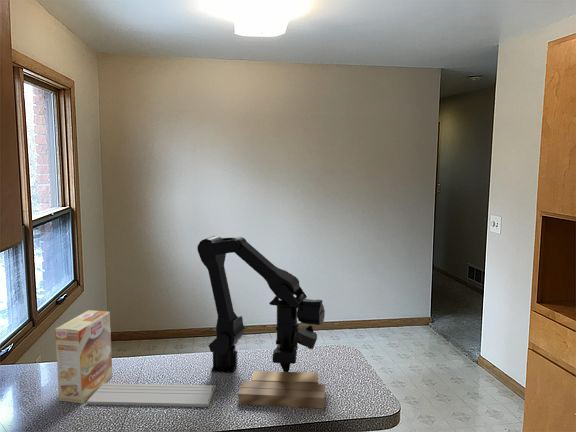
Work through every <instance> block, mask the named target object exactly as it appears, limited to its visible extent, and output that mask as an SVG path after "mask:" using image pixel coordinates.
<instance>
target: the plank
mask: <svg viewBox="0 0 576 432" xmlns="http://www.w3.org/2000/svg"><path fill="white" fill-rule="evenodd" d="M251 381H264V382H286V383H307V384H319V373H318V372H313V371H312V372H311V371H310V372H306V371H289V372H284V371H270V370H267V371H266V370H254V371H253V374H252V378H251Z"/></svg>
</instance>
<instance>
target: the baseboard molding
mask: <svg viewBox="0 0 576 432" xmlns="http://www.w3.org/2000/svg"><path fill="white" fill-rule="evenodd" d="M217 385H218V382H217V381H215V383H214V384H213V385H211V384H210V385H209V384H205V385H204V384H165V383H163V384H162V383H161V384H159V383H156V384H155V383H154V384H153V383H108V382H106V383H104V384H101V386H100V387H99V388H98V389H97V391H95V393H94V394H93V395H92V396H91V397H89V398H88V399H87V400H86V404H87V405H91V406H92V405H95V406H96V405H97V406H98V405H99V406H100V405H102V406H104V405H105V406H141V407H142V406H143V407H144V406H146V407H147V406H148V407H149V406H150V407H152V406H153V407H188V408H189V407H190V408H191V407H193V408H195V407H197V408H206V407H207V408H209V406H210V404H211V401H212V398H213V396H214V393H215V391H216V388H217Z"/></svg>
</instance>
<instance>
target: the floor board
mask: <svg viewBox="0 0 576 432" xmlns="http://www.w3.org/2000/svg"><path fill="white" fill-rule="evenodd" d="M237 394H238V395H237V397H238V398H237V402H238V403H237V404H238V405H247V404H249V406H250V405H252V404H253V406H269V407H270V406H271V407H287V406H288V407H289V408H292V407H293V408H308V409H309V408H310V409H325V407H326V384H324V383H323V384H322V383H318V384H307V383H286V382H264V381H252V380H242V382H241V385H240V388H239V390H238V393H237Z"/></svg>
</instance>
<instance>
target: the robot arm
mask: <svg viewBox="0 0 576 432" xmlns="http://www.w3.org/2000/svg"><path fill="white" fill-rule="evenodd" d="M196 248H197V250H196V251H197V253H198V255H199V259H200V260H201V261H200V262H202V264H203V265H204V266H205V267H206V269H207V271H208V276H209V281H210V285H211V286H210V287H211V290H212V295H213V299H214V305H215V309H216V314H217V320H216V324H215V336H216V337H215V339H214V340H212V341H211V342H210V343H209V344H208V348H209V350H210V352H211V353H212V367H211V369H210V370H211V372H219V373H221V372H222V373H223V372H224V373H233V372H234V370H235V369H236V368H237V366H238V363H239V362H238V351H237V350H236V344H238V342H239V340H240V339H241V338H242V337H243V336H244V330H245V329H246V327H245V325H244V322H243V320H244V319H243V315H240V316H238V315H237V314H236V313H235V311H234V307H233V301H232V296H231V292H230V288H229V284H228V278H227V272H226V268H225V261H226V256H227V254H231V253H233V254H235V255H236V256H238V257H239V258H240V259H241V260H242V261H244V263H245V264H247V265H248V266H249V267H250V268H251V269H253V270H254V271H255V272H256V273H257V274H258V275H259V276H261V277H262V278H263V279H264V281H265V282H266V283H267V285H268V287H269V289H270V290H271V292H272V293H273V294H274V295H275V296H274V298H273V299H272V300H271V301H270V302H269V306H276V326H275V331H276V339H275V345H276V348H275V349H273V351H272V363H274V364H279V365H280V367H281V369H282V372H290V368H291V364H292V365H294V364H296V363H297V356H298V355H297V354H298V348H299V345H301V346H304V347H306V348H308V349H309V350H314V347H315V345H316V343H317V340H318V334H317V332H316V331H314V326H323V323H324V320H325V315H326V314H325V310H326V309H325V306H324V304H323V300H322V299H310V298H309V299H308V298H307V297H308V296H307V294H305V291H304V290H303V289H302V287H301V286H300V280H299V279H298V277H296V276H295V275H293V274H292V273H290V272H288V271H287V270H285V269H281V268H279V267H278V266H275V264H273V263H272V262H271V261H270V260H269V259H267V257H266V256H264V255H263V254H262V253H261V252H259V251H258V250H257V249H256V248H255V247H254V246H252V245H251V244H250V243H249V242H248V241H247V239H246V238H245V237H242V236H238V237H221V236H219V235H212V236H210V237H206V238H204V239H202V240H200V241H199V243H198V245H197V247H196ZM299 322H300V323H301V324H307V325H306V326H305V327H304V326H302V327H300V326H299ZM313 325H314V326H313ZM298 344H299V345H298Z"/></svg>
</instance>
